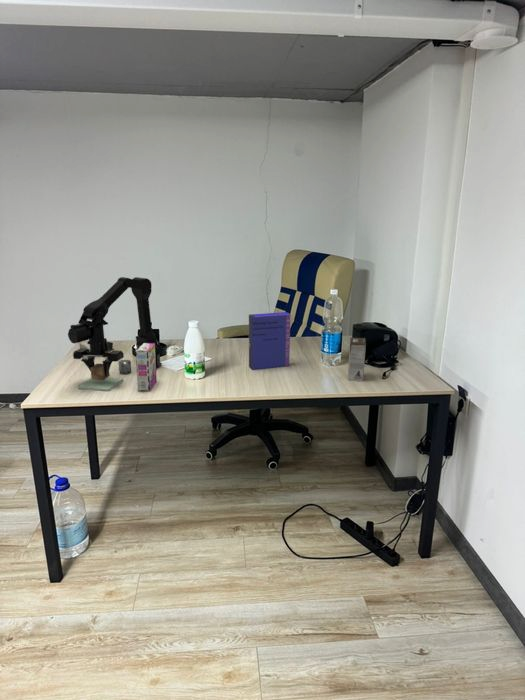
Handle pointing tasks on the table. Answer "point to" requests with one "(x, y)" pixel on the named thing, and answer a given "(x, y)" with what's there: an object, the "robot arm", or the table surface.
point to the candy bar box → (146, 366)
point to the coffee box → (356, 359)
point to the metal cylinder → (125, 367)
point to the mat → (101, 384)
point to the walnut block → (98, 372)
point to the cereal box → (269, 340)
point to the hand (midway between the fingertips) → (100, 375)
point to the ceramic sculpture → (87, 346)
